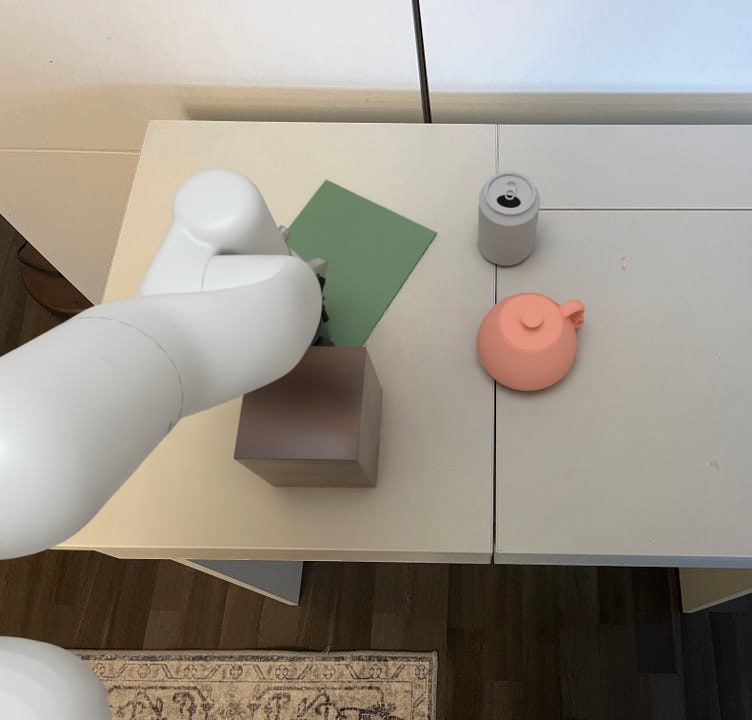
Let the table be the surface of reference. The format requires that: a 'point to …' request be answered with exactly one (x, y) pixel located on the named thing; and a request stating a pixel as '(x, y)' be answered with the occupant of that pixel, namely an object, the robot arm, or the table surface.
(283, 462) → the stand
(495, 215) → the can
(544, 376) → the sugar bowl
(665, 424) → the table surface
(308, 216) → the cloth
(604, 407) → the table surface
